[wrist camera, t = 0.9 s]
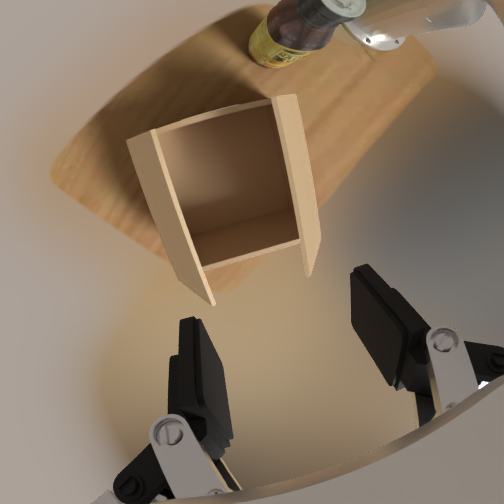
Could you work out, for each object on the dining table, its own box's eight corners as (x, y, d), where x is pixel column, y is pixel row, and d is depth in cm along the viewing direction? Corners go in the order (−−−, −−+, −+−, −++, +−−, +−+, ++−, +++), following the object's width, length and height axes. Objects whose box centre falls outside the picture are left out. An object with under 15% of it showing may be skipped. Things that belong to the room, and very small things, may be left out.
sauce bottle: (261, 77, 32) (322, 44, 14) (237, 39, 29) (275, -27, 11) (303, 58, 31) (391, 24, 14) (280, 21, 28) (350, -41, 11)
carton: (268, 98, 33) (291, 93, 24) (292, 209, 41) (317, 238, 32) (147, 131, 32) (129, 137, 24) (184, 240, 40) (181, 277, 31)
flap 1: (181, 277, 31) (178, 279, 31) (129, 138, 24) (125, 140, 24) (216, 304, 26) (212, 306, 26) (154, 128, 18) (150, 130, 18)
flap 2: (291, 94, 24) (295, 93, 24) (317, 238, 32) (321, 237, 32) (270, 97, 19) (275, 96, 18) (305, 277, 26) (310, 277, 26)
